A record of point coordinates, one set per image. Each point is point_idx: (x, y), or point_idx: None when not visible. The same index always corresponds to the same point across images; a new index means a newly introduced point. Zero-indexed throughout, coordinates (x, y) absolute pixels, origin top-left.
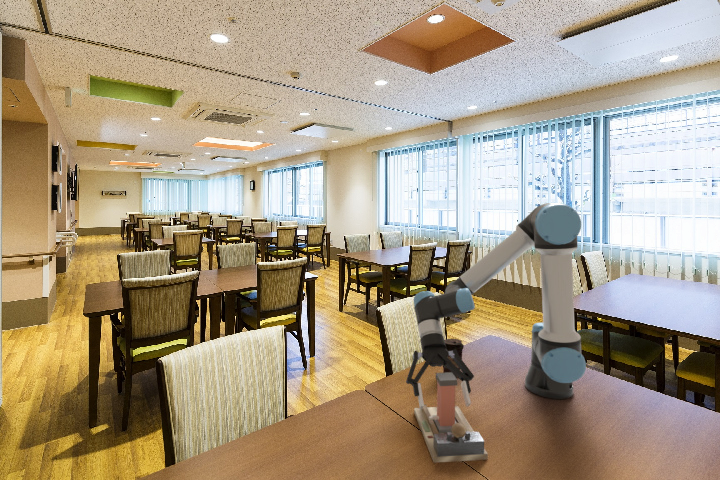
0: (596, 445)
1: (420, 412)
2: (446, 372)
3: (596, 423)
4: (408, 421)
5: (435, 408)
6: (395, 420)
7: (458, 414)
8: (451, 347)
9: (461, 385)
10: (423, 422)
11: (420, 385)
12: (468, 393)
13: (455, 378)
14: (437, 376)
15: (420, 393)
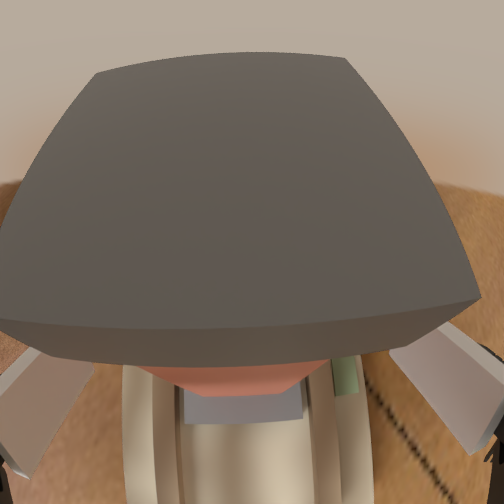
0: None
1: (350, 473)
2: (94, 328)
3: None
4: (398, 427)
5: None
6: (444, 423)
7: (146, 449)
8: None
9: (31, 460)
10: (350, 380)
11: (493, 372)
12: (29, 348)
13: (90, 91)
14: (408, 160)
15: (458, 336)
